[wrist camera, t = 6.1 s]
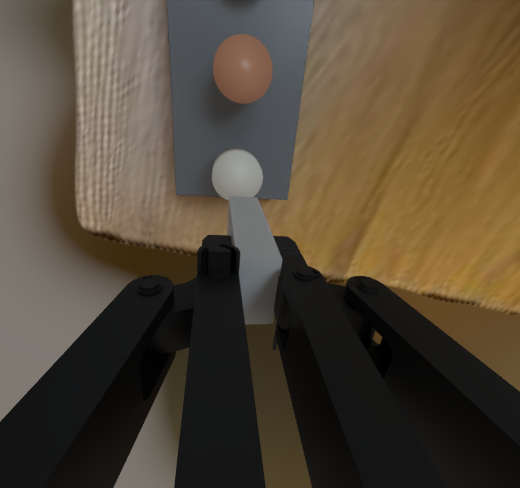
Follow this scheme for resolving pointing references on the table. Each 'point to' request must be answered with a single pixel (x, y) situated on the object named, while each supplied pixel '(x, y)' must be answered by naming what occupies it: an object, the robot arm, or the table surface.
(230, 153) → the cream knob
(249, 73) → the rust knob middle
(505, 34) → the table surface
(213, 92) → the knob panel
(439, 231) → the table surface
